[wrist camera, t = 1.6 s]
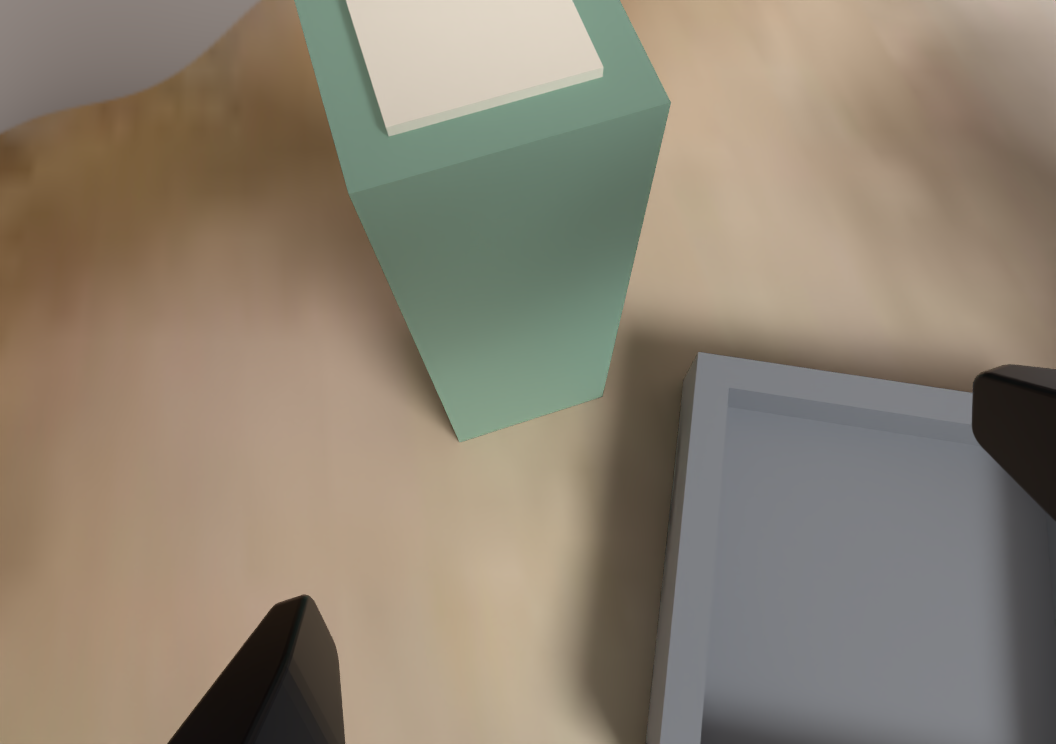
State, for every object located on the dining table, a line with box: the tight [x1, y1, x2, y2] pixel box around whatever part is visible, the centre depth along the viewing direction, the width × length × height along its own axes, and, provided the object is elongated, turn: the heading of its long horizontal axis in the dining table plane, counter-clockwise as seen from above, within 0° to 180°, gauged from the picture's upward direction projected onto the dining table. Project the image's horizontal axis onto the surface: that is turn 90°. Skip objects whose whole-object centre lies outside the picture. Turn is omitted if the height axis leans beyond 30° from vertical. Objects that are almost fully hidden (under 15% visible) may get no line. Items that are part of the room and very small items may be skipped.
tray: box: [645, 352, 1056, 744], centre depth 20 cm, size 12×12×2 cm
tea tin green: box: [294, 0, 671, 442], centre depth 18 cm, size 5×5×14 cm
